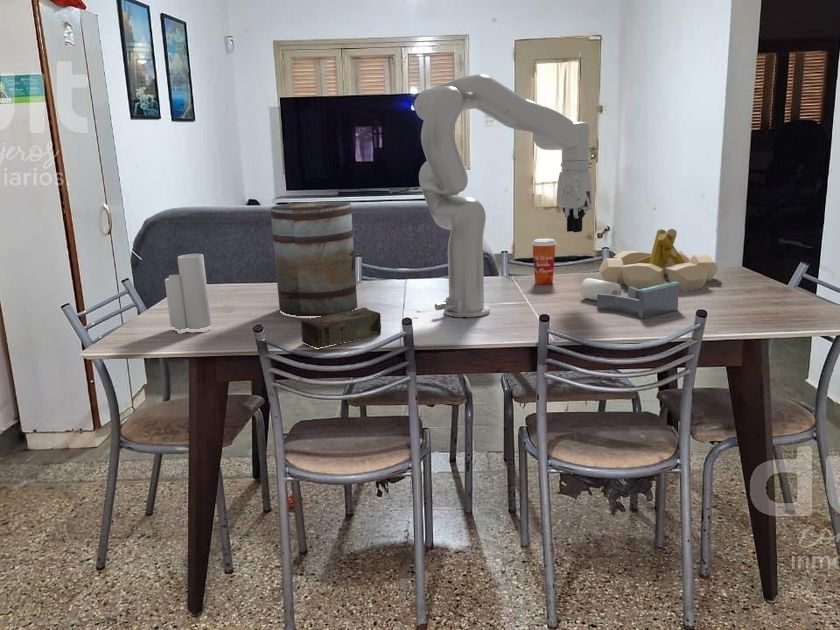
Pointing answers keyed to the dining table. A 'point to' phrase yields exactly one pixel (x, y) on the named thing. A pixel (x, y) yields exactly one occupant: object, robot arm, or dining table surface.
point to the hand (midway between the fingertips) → (574, 231)
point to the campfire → (659, 266)
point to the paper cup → (543, 260)
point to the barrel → (314, 258)
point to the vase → (188, 294)
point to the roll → (598, 288)
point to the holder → (643, 300)
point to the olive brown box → (340, 327)
